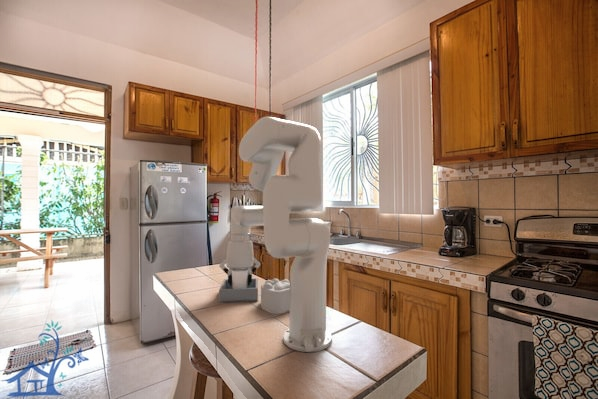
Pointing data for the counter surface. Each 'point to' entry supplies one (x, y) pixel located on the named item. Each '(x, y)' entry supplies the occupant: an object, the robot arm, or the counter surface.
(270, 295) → the lumpy-topped squat cylinder
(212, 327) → the counter surface
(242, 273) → the white cylinder
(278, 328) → the counter surface
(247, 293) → the bin
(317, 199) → the robot arm
